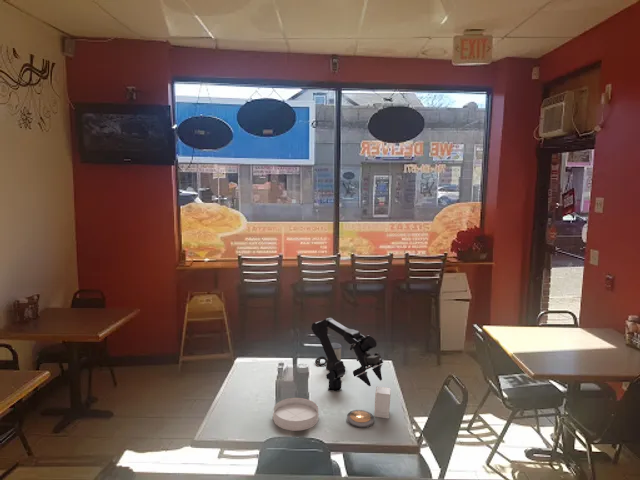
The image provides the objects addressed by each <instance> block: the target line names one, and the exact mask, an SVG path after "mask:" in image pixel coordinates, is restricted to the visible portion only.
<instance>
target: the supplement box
mask: <svg viewBox="0 0 640 480" xmlns="http://www.w3.org/2000/svg"><path fill="white" fill-rule="evenodd" d="M391 390H392V389H391V387H386V386H384V387H383V386H376V388H375V397H374V413H373V416H374V418H382V419H389V418H390V408H391V406H390V405H391V392H392V391H391Z"/></svg>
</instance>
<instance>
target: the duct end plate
mask: <svg viewBox="0 0 640 480" xmlns="http://www.w3.org/2000/svg"><path fill="white" fill-rule="evenodd" d="M346 422H347V423H348V425H350V426H352V427H355V428H359V429H366V428H369V427H371V426H373V425H374V424H375V423H374V422H375V417H374V414H372V413H371V412H370V411H368V410H364V409H363V410H362V409H355V410H351V411H348V413H347V414H346Z"/></svg>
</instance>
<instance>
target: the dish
mask: <svg viewBox="0 0 640 480" xmlns="http://www.w3.org/2000/svg"><path fill="white" fill-rule="evenodd" d="M272 415H273V416H272V418H273V422H274V425H276V426H277V427H279V428H281V429H283V430H286V431H293V432H294V431H297V432H298V431H305V430H308V429H311V428H313V427H314V426H315V425H316V424H317V423H318V422H319V417H320V416H319V415H320V414H319V407H318V405H317V404H316V403H315V402H314V401H312V400H310V399H307V398H303V397H290V398H284V399H282V400H280V401H278V402H277V403H275V405H274V407H273V413H272Z"/></svg>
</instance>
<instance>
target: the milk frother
mask: <svg viewBox="0 0 640 480" xmlns="http://www.w3.org/2000/svg"><path fill="white" fill-rule="evenodd" d="M331 345H332V347H333V350H334V352H335V354H336V357H337V359H338V360H339V361H342V360H341V359H342V344H341V343H339V342H331ZM321 360H324V362H323V363H321ZM314 362H315V364H316V366H320V367H322V366H325V368H326V370H327V371H329V361H328V358H327V357H325V356H319V357H317V358H316V359H315V360H314Z"/></svg>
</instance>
